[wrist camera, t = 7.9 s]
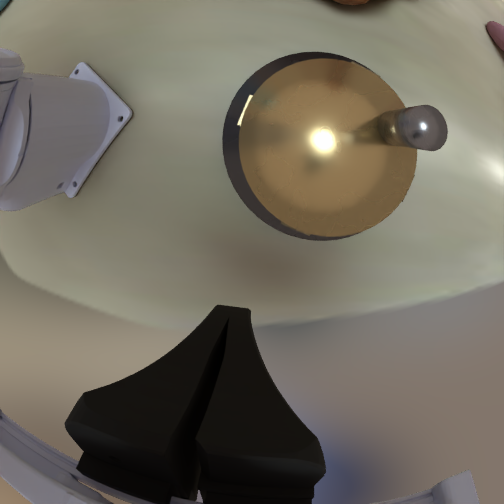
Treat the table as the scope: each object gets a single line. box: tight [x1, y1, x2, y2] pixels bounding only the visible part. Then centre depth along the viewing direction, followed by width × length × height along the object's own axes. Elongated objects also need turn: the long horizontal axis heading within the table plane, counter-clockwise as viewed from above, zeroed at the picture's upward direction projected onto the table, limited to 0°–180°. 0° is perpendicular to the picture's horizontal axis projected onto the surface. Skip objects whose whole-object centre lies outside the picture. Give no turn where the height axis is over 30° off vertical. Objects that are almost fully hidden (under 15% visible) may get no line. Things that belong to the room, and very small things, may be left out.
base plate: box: [222, 52, 385, 241], centre depth 17 cm, size 13×13×1 cm
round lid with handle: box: [237, 58, 448, 237], centre depth 13 cm, size 10×10×7 cm
